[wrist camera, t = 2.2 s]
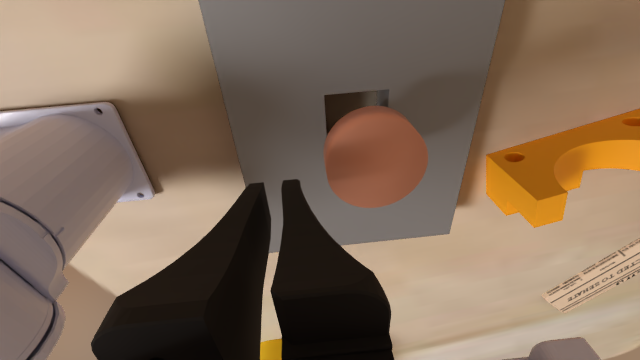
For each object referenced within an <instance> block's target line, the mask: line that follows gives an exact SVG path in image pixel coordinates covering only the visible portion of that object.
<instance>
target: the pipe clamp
mask: <svg viewBox="0 0 640 360" xmlns="http://www.w3.org/2000/svg"><path fill="white" fill-rule="evenodd" d="M599 168H619V169H631V170H638V171H640V109H637V110H634V111H631V112H627V113H624V114H621V115H617V116H614V117H611V118H607V119H604V120H601V121H597V122H594V123H591V124H587V125H584V126H581V127H577V128H574V129H571V130H567V131H564V132H561V133H557V134H554V135H551V136H547V137H544V138H541V139H538V140H534V141H531V142H528V143H524V144H521V145H518V146H514V147H511V148H508V149H504V150H501V151H498V152H494V153H491V154H488V155H486V194H487V195H488V196H489V197H490V198H491V200H492V201H493V202H494V203H495V204H496V205H497V206H498V207H499V208H500V209H501V211H502V212H503V213H504V214H505V215H506V216H507V215H511V214H514V213H518V212H519V213H520V214H521V215H522V216H523V217H524V218H525V219H526V220H527V221H528V222H529V223H530V224H531V225H532V226H533V227H534V228H535V227H539V226H542V225H546V224H550V223H553V222H557V221H561V220H563V215H564V210H565V205H566V199H567V194H568V192H567V191H569V190H571V189H575V188H579V187H580V183H581V178H582V174H583V171H584V170H590V169H599Z"/></svg>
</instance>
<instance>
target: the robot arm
mask: <svg viewBox="0 0 640 360" xmlns="http://www.w3.org/2000/svg"><path fill="white" fill-rule="evenodd" d="M97 108H99V109H101V110H102V112H103V113H100V112H99V111H98V110H97ZM140 193H142V194H143V195H141V194H140ZM281 193H282V208H283V229H282V237H281V244H280V251H279V257H278V262H277V267H276V271H275V275H274V280H273V284H272V287H271V294H272V298H273V302H274V306H275V310H276V314H277V318H278V322H279V325H280V329H281V333H282V352H281V358H282V360H394V357H393V353H392V342H391V338H390V335H389V328H390V319H391V309H390V304H389V302H388V299H387V297H386V295H385V292H384V290H383V288H382V287H381V285H380V283H379V281H378V280H377V278H376V276H375V275H374V273H373V272H372V271H371V270H369V269H368V268H366V267H365V266H364V265H362V264H361V263H360V262H358V261H357V260H356V259H354V258H353V257H352V256H351V255H350V254H348V253H347V252H346V251H345V250H344V249H343V248H342V247H341V246H340V245H339V244H338V243H337V242H336V241H335V240H334V239H333V238H332V237H331V236H330V235H329V234H328V232H327V231H326V230H325V229H324V227H323V226H322V225H321V223H320V222H319V221H318V219H317V218H316V216H315V215H314V213H313V212H312V210H311V208H310V206H309V205H308V203H307V201H306V199H305V197H304V194H303V192H302V189H301V184H300V181H299V180H298V179H292V180H283V183H282V188H281ZM154 195H155V191H154V189H153V187H152V185H151V182H150V180H149V178H148V176H147V174H146V172H145V170H144V167H143V165H142V163H141V161H140V159H139V157H138V155H137V152H136V150H135V148H134V146H133V144H132V142H131V140H130V137H129V135H128V133H127V131H126V129H125V127H124V125H123V122H122V120H121V118H120V116H119V114H118V112H117V110H116V108H115V106H114V105H113V104H111V103H109V102H98V103H87V104H76V105H65V106H54V107H43V108H32V109H21V110H10V111H0V360H47V359H48V357H49V356H50V354H51V352H52V351H53V349H54V347H55V346H56V344H57V342H58V340H59V338H60V336H61V333H62V330H63V328H64V323H65V312H64V309H63V307H62V306H61V305H60V304H59V303H57V302H56V300H57V299H58V297H59V296H60V295H61V293H62V292H63V291H64V289H65V288H66V287H67V285H68V284H69V282H68V280H67V279H66V278H65V277H64V275H63V272H62V271H63V269H64V268H65V267H66V266H67V264H68V263H69V262H70V261H71V259H72V258H73V257H74V256H75V254H76V253H77V252H78V251H79V249H80V248H81V247H82V245H83V244H84V243H85V242H86V240H87V239H88V238H89V237H90V235H91V234H92V233H93V232H94V230H95V229H96V228H97V227H98V225H99V224H100V223H101V221H102V220H103V219H104V218H105V216H106V215H107V214H108V213H109V211H110V210H111V209H112V208H113V206H114V205H115V204H116V203H117V202H126V201H136V200H146V199H152V198H153V197H154ZM270 240H271V215H270V210H269V206H268V201H267V196H266V191H265V186H264V182H261V183H250V184H249V185H248V186H247V187H246V188H245V190H244V191H243V192H242V194H241V195H240V197H239V198H238V199H237V201H236V202H235V203H234V204H233V206H232V207H231V208H230V209H229V211H228V212H227V213H226V214H225V216H224V217H223V218H222V219H221V220H220V221H219V222H218V223H217V225H216V226H215V227H214V228H213V229H212V230H211V231H210V232H209V233H208V234H207V235H206V236H205V237H204V238H203V239H202V240H200V241H199V242H198V243H197V244H196V245H195V246H194V247H192V248H191V249H190V250H189V251H187V252H186V253H185V254H184V255H182V256H181V257H180V258H178V259H177V260H176V261H175V262H173V263H172V264H170V265H169V266H167V267H166V268H165V269H163V270H162V271H160V272H159V273H157V274H156V275H154V276H152V277H151V278H149V279H148V280H146V281H144V282H143V283H141V284H139V285H137V286H136V287H134V288H132V289H130V290H129V291H127V292H125V293H123V294H122V295H120V296H118V297H117V298H116V299H115V301H114V303H113V304H112V306H111V307H110V309H109V311H108V313H107V315H106V316H105V318H104V320H103V322H102V324H101V325H100V327H99V329H98V331H97V332H96V334H95V336H94V339H93V340H92V342H91V346H92V351H93V353H94V355H95V356H96V357H97V359H98V360H260V340H261V314H262V295H263V285H264V279H265V272H266V266H267V260H268V254H269V247H270ZM504 360H601V359H600V357H599V356H598V355H597V354H596V353H595V351H594V350H593V349H592V348H591V346H590V345H589V344H588V343H587V341H586V340H585V339H584V338H581V337H577V338H568V339H558V340H549V341H544V342H541V343H539V344H537V345H535V346H534V347H533V348H532V350H531V352H530V355H529V357H522V358H513V359H504Z"/></svg>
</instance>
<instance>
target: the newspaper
mask: <svg viewBox="0 0 640 360" xmlns="http://www.w3.org/2000/svg"><path fill="white" fill-rule="evenodd" d="M639 273H640V238H639V239H637V240H635V241H634V242H632V243H630V244H628V245H627V246H625V247H623V248H622V249H620V250H618V251H616V252H615V253H613V254H611V255H609V256H608V257H606V258H604V259H603V260H601V261H599V262H597V263H596V264H594V265H592V266H591V267H589V268H587V269H585V270H584V271H582V272H580V273H578V274H577V275H575V276H573V277H572V278H570V279H568V280H566V281H565V282H563V283H561V284H559V285H558V286H556V287H554V288H553V289H551V290H549V291H547V292H546V293H544V294H542V296H543V298H544V299H545V300H547V301H548V302H549V303H550V304H551V305H553V306H554V307H555V308H557V309H558V310H559V311H561V312H563V313H566V312H568V311H570V310H572V309H574V308H576V307H577V306H579V305H581V304H583V303H585V302H587V301H589V300H590V299H592V298H594V297H596V296H598V295H600V294H602V293H603V292H605V291H607V290H609V289H611V288H613V287H615V286H616V285H618V284H620V283H622V282H624V281H626V280H628V279H629V278H631V277H633V276H635V275H637V274H639Z"/></svg>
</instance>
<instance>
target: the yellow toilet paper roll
mask: <svg viewBox="0 0 640 360" xmlns="http://www.w3.org/2000/svg"><path fill="white" fill-rule="evenodd" d="M281 352H282V339H276V340H269V341H265V342H261V343H260V360H282V358H281Z"/></svg>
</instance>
